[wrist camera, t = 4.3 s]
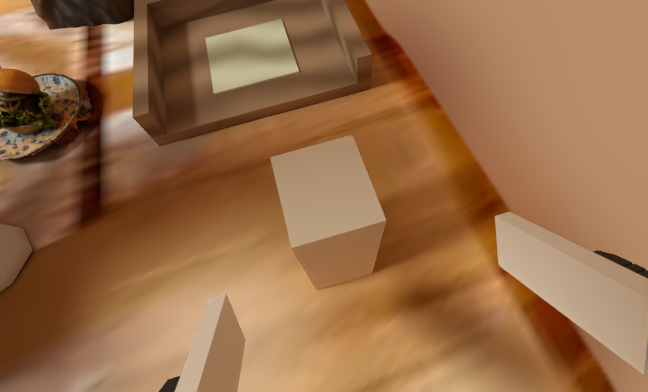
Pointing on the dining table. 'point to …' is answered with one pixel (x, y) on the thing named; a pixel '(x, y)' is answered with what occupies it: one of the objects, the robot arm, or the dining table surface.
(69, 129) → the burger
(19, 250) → the flask
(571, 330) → the dining table surface
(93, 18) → the owl
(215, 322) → the robot arm
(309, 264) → the block
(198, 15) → the shallow rimmed tray
